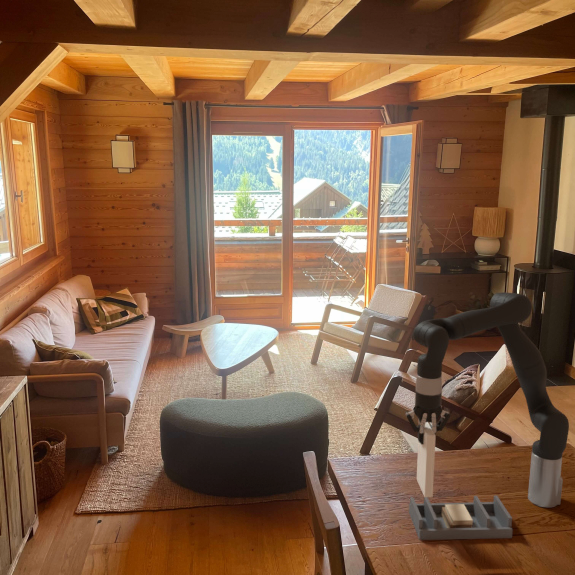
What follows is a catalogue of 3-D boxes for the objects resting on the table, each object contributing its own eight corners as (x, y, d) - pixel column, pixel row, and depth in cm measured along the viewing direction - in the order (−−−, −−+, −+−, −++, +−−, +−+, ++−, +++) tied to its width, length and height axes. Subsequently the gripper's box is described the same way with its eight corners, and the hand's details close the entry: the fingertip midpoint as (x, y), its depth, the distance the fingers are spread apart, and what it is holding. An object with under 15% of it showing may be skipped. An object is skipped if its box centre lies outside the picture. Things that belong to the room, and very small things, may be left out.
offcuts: (462, 514, 185) (463, 502, 184) (473, 534, 175) (474, 521, 174) (441, 515, 185) (441, 502, 184) (450, 534, 175) (451, 521, 174)
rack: (494, 513, 187) (495, 493, 186) (511, 540, 173) (513, 520, 172) (408, 514, 187) (409, 495, 185) (419, 542, 173) (420, 522, 171)
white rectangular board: (424, 479, 182) (426, 420, 178) (432, 497, 172) (435, 435, 168) (416, 479, 182) (419, 420, 177) (424, 497, 172) (427, 435, 168)
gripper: (448, 384, 174) (445, 436, 177) (402, 384, 174) (400, 437, 177) (455, 393, 166) (452, 448, 170) (408, 394, 166) (406, 449, 170)
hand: (426, 442), depth 174 cm, fingers closed on white rectangular board, 2 cm apart
